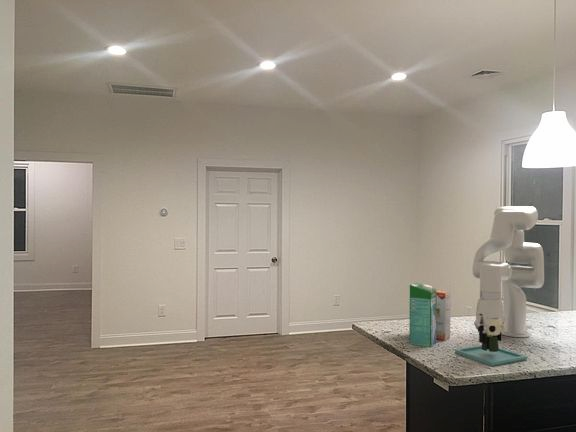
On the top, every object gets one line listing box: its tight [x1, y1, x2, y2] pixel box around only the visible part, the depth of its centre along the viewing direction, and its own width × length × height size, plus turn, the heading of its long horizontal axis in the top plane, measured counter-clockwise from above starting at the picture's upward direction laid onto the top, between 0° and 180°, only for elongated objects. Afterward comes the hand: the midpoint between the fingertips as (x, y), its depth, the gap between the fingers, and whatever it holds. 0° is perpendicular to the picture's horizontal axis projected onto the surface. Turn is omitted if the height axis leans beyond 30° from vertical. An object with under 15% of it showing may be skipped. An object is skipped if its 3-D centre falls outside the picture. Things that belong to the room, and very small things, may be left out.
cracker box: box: [436, 290, 451, 341], centre depth 207 cm, size 14×6×21 cm, turn 47°
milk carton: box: [408, 282, 437, 348], centre depth 197 cm, size 9×9×25 cm
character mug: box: [481, 318, 505, 352], centre depth 178 cm, size 11×7×13 cm, turn 51°
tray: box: [454, 344, 528, 367], centre depth 178 cm, size 18×18×2 cm
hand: (490, 341), depth 178 cm, fingers closed on character mug, 7 cm apart
